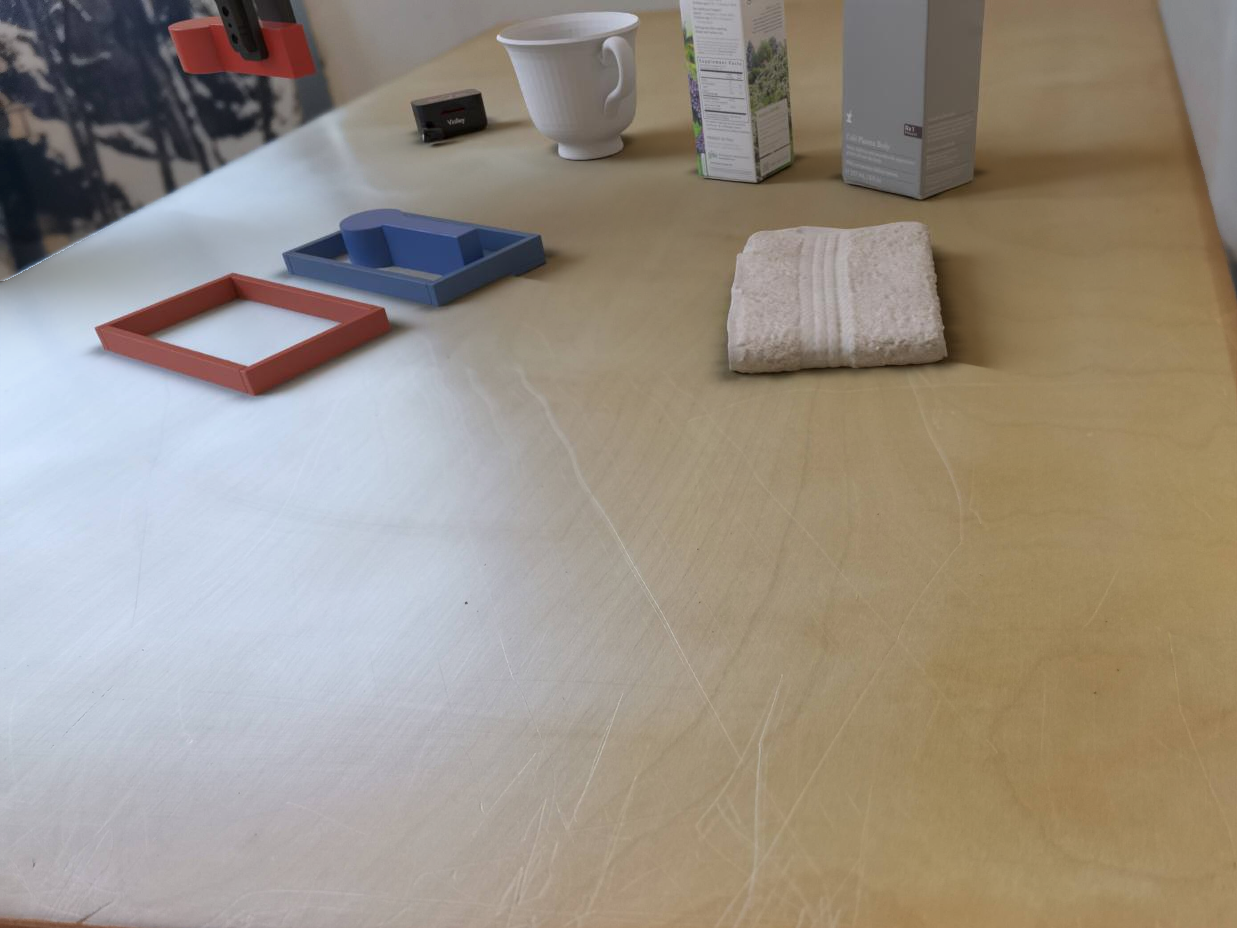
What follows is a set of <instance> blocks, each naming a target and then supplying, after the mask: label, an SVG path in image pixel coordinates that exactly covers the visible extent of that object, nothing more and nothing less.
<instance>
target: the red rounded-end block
mask: <svg viewBox="0 0 1237 928" xmlns="http://www.w3.org/2000/svg"><path fill="white" fill-rule="evenodd" d="M259 24H260V27H261V31H262V34H263V37H264V40H265V43H266V46H267V49H268V53H269V58H268V59H266V60H262V61H246V60H244V59H243V58H242V57H241V55H240V53H238V52H235V51H234V49H233V48H232V46H231V45H230V42H229V39H228V37H227V34H226V31H225V27H224V25H223V22H222V19H221V16H220V15H217V16H206V17H198V18H191V19H185V20H181V21H178V22H175V23H172V24H170V25H168V27H167V29H168V32H169V34H170V37H171V40H172V43H173V45H174V49H175V51H176V54H177V56H178V59H179V62H180V65H181V68H182V70H183V72H184V73H187V74H191V75H206V74H216V73H222V72H227V73H236V74H246V75H254V76H255V75H256V76H263V77H272V78H283V79H288V80H289V79H290V80H297V79H301V78H304V77H308V76H311V75H315V74H317V69H316V66H315V62H314V60H313V56H312V53H311V50H310V47H309V43H308V39H307V36H306V33H305V29H304V25H303V24H302V23H298V22H297V23H284V22H271V21H261V20H259Z"/></svg>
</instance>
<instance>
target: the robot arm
mask: <svg viewBox="0 0 1237 928" xmlns="http://www.w3.org/2000/svg"><path fill="white" fill-rule="evenodd" d="M213 1H214V3H215V5H216V8H217V11H218V13H219V16H221V19H222V22H223V25H224V27H225V31H226V34H227V37H228V39H229V42H230V45H231V46H232V48H233V49H234V51H235V52H238V53H240V55H241V57H242V58H243V59H244V60H246V61H262V60H266V59H268V58H269V53H268V49H267V46H266V43H265V40H264V37H263V34H262V31H261V27H260V24H259V21H271V22H284V23H297V24H298V22H297V19H296V15H295V12H294V9H293V6H292V2H291V0H213ZM253 1H254V3H253ZM254 4H255V6H254ZM255 7H256V9H255ZM256 10H257V11H256ZM257 13H258V15H257ZM258 16H259V17H258ZM259 19H260V20H259Z"/></svg>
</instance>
